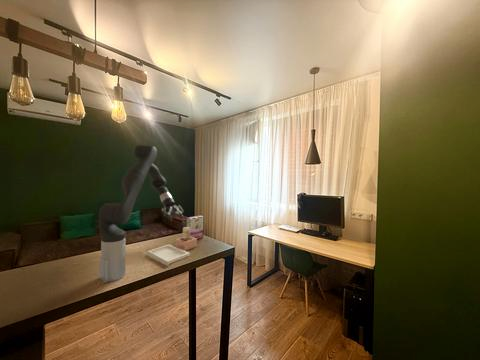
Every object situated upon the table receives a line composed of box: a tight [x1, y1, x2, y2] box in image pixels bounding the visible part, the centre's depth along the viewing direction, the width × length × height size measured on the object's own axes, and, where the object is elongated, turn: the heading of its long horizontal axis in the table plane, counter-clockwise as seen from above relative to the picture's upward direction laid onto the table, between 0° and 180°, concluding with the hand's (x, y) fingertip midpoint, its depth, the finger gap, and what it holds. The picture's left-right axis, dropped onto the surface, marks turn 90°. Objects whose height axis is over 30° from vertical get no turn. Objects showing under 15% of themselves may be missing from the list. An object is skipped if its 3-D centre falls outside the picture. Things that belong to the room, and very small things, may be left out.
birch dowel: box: [182, 226, 190, 241], centre depth 123 cm, size 4×4×12 cm
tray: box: [146, 244, 191, 267], centre depth 111 cm, size 14×20×2 cm
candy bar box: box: [186, 215, 204, 240], centre depth 139 cm, size 11×5×16 cm, turn 132°
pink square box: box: [174, 236, 198, 252], centre depth 123 cm, size 9×9×6 cm
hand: (177, 219), depth 128 cm, fingers open, 8 cm apart
